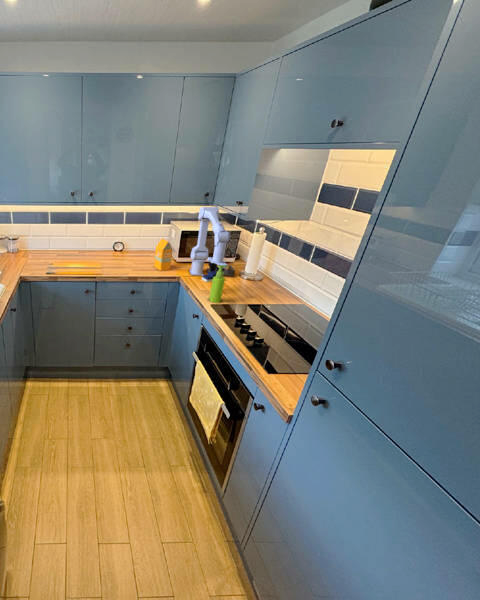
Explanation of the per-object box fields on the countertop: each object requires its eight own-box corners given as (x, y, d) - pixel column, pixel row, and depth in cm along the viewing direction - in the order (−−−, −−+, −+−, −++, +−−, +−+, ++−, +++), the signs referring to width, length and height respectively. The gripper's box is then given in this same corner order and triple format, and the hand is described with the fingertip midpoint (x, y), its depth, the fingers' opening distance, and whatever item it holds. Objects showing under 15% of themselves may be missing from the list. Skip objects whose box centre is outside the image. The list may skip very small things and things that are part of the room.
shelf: (206, 270, 221) (207, 263, 219) (229, 271, 219) (230, 264, 217) (209, 275, 211) (210, 269, 209) (233, 277, 209) (235, 270, 207)
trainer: (217, 277, 191) (218, 270, 189) (222, 279, 187) (224, 273, 185) (201, 279, 188) (202, 272, 186) (206, 282, 184) (207, 275, 182)
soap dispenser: (224, 301, 177) (231, 266, 168) (213, 303, 175) (220, 268, 166) (217, 297, 182) (224, 263, 173) (206, 298, 180) (213, 264, 172)
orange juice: (163, 265, 230) (166, 237, 221) (170, 269, 222) (173, 241, 214) (153, 266, 228) (156, 238, 219) (160, 270, 220) (163, 242, 212)
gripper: (204, 250, 186) (201, 272, 192) (221, 258, 174) (217, 281, 179) (215, 249, 188) (211, 271, 194) (232, 256, 175) (227, 280, 181)
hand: (214, 276), depth 187 cm, fingers closed on trainer, 4 cm apart
